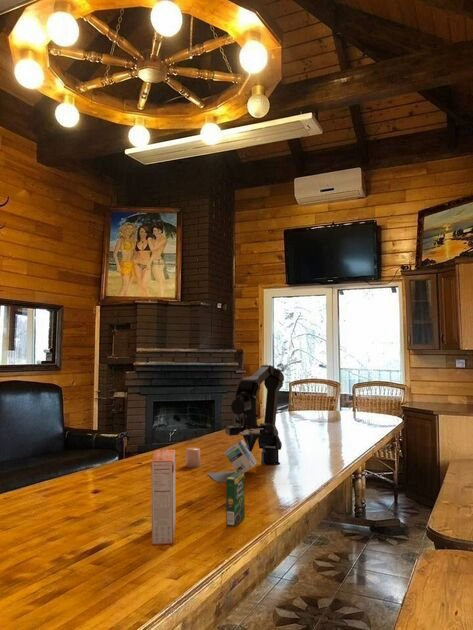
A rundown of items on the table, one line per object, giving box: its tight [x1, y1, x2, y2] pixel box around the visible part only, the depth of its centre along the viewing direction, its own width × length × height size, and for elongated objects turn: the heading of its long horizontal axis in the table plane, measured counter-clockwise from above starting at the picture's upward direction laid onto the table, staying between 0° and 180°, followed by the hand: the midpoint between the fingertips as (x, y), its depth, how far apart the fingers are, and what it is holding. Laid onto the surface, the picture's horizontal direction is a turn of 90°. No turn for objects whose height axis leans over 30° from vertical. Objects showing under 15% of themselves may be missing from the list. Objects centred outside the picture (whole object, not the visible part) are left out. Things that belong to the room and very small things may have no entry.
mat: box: [206, 470, 246, 484], centre depth 186 cm, size 11×13×1 cm
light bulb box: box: [224, 439, 258, 474], centre depth 191 cm, size 11×7×11 cm
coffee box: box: [225, 471, 246, 528], centre depth 138 cm, size 8×3×13 cm, turn 159°
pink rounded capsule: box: [185, 447, 201, 469], centre depth 205 cm, size 6×6×7 cm
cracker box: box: [150, 449, 177, 546], centre depth 130 cm, size 14×6×21 cm, turn 5°
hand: (250, 451), depth 191 cm, fingers closed
